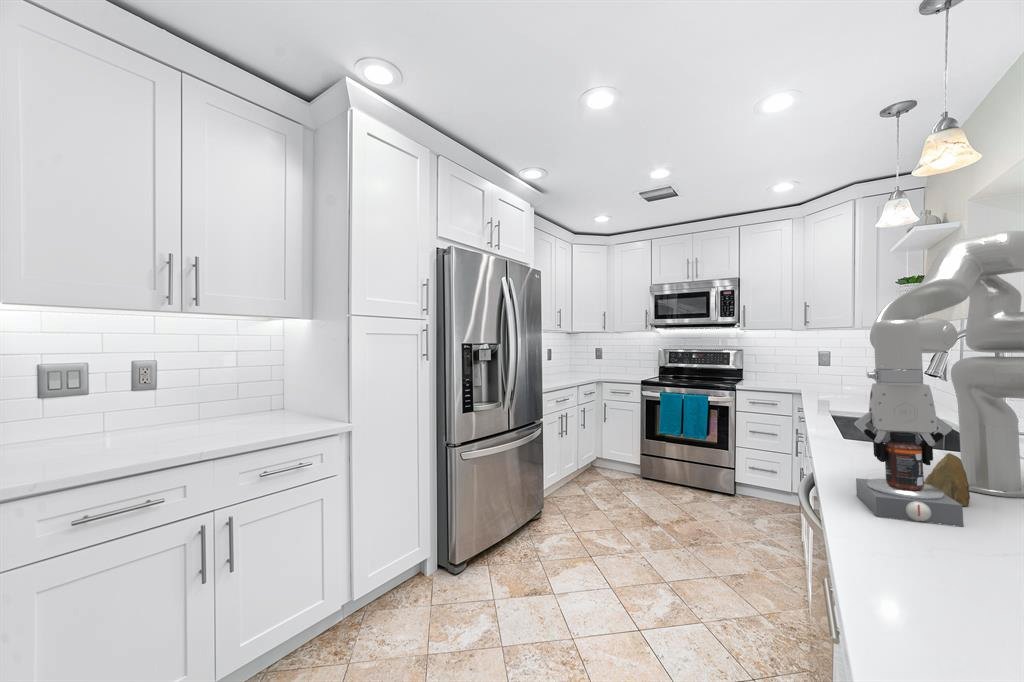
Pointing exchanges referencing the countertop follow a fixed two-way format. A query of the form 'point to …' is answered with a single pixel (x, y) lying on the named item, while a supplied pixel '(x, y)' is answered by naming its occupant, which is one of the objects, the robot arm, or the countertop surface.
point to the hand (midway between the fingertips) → (902, 461)
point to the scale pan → (923, 494)
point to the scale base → (910, 506)
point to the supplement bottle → (904, 462)
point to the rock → (950, 479)
